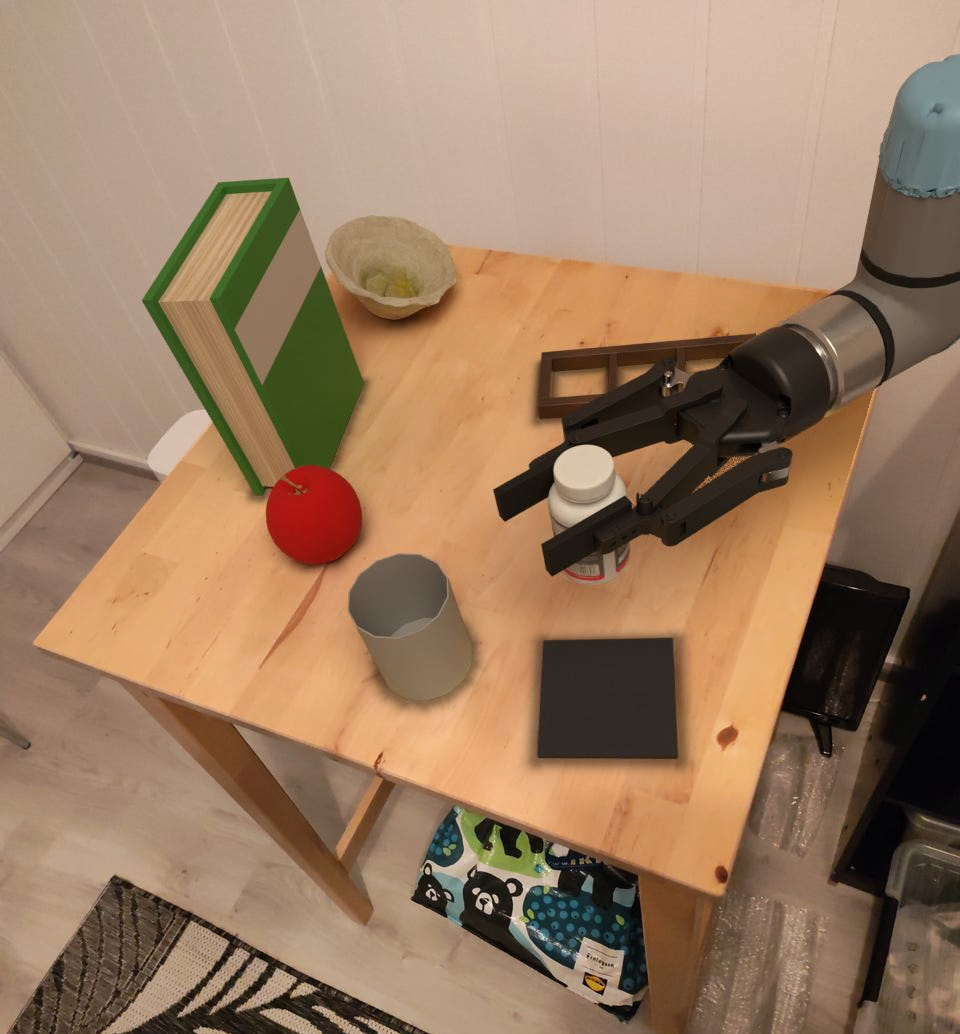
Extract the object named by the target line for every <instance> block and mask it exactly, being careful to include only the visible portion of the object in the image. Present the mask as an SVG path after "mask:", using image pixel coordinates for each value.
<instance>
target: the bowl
mask: <svg viewBox="0 0 960 1034" xmlns="http://www.w3.org/2000/svg"><path fill="white" fill-rule="evenodd" d="M324 257H325V261H326V264H327V266H328V268H329V269H330V271H331V272H332V273H333V276H334V278H335V279H336V281H337V282H338V284H340V285H341V286H342V287H343V288H344V289H345V290H346V291H347V292H349V293H350V294H352V296H353V297H354V298H356V299H357V300H358V301H359V302H360V303H361V304H362V305H363V306H364V307H365V308H366V309H367V310H368V311H369V312H371V313H372V314H373V315H375V316H377V317H379V318H382V319H388V320H396V321H397V320H401V319H405V318H407V317H410V316H412V315H414V314H415V313H417V312H419V311H420V310H422V309H424V308H426V307H427V308H428V307H430V306H433V305H437V304H439V302H440V300H441V299H442V297H443V296H444V295H445V293H446V292H447V291H448V290H449V289H450V288H452V287H454V286H455V285H456V283H457V281H458V279H457V273H456V266H455V262H454V260H453V257H452V253H451V250H450V248H449V246H448V244H446V243H445V242H444V241H443V240H442V239H441V238H440V237H439V236H438V235H437V234H436V233H435V232H434V231H432V230H430V229H429V228H426V227H424V226H422V225H420V224H418V223H417V222H415V221H412V220H409V219H408V218H403V217H400V216H390V215H389V216H384V215H373V214H372V215H368V216H362V217H357V218H354V219H352V220H350V221H347V222H346V223H343V224H342V225H341V226H339V227H337V228H336V229H335V230H334V231H333V232H332V233H331V235H330V236H329V239H328V242H327V244H326V247H325V250H324Z"/></svg>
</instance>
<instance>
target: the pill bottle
mask: <svg viewBox="0 0 960 1034" xmlns="http://www.w3.org/2000/svg"><path fill="white" fill-rule="evenodd" d="M613 458H614V457H613ZM613 458H612V456H611V455H610V454H609V453H608V452H607V451H606V450H605V449H603V448H601V447H598V446H594V445H580V446H576V447H573V448H570V449H568V450H566V451H565V452H563V453H562V454H561V455H560V456H559V457H558V459H557V460H556V462H555V464H554V470H553V471H554V480H555V482H554V483H553V485H552V487H551V489H550V491H549V495H548V498H547V504H548V505H547V506H548V511H549V516H550V518H549V519H550V522H551V523H550V524H551V529H552V534H553V535H552V536H553V537H554V536H556V535H558V534H560V533H561V532H563V531H565V530H566V529H568V528H570V527H572V526H573V525H575V524H577V523H578V522H580V521H582V520H584V519H585V518H587V517H589V516H590V515H592V514H594V513H596V512H597V511H599V510H601V509H602V508H604V507H606V506H608V505H609V504H611V503H613V502H615V501H616V500H618V499H620V498H621V497H623V496H626V497H627V498H628V492H627V487H626V484H625V483H624V481H623V479H622V478H621V477H620V475H619V474H618V473H617V472H616V468H615V467H616V466H615V461H614V459H613ZM630 544H631V541H630V542H628V543H626V544H625V545H622V546H621V547H620V548H617V549H616V550H615V551H613V552H611V553H609V554H604V555H602V554H601V553H600V552H599V551H598V550H597V551H595V552H594V553H592V554H590V555H588V556H587V557H585V558H583V559H582V560H580V561H578V562H577V563H575V564H573V565H572V566H570V567H568V568H566V569H565V570H563V571H561V573H562V574H563V575H564V576H566V577H567V578H568V579H569V580H571V581H572V582H574V583H577V584H580V585H583V586H584V585H585V586H600V585H604V584H606V583H609V582H611V581H613V580H615V579H616V578H618V577H619V576H620V575H622V573H624V571H625V570H626V568H627V566H628V564H629V561H630V555H631V547H630V546H631V545H630Z"/></svg>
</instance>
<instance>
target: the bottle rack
mask: <svg viewBox="0 0 960 1034" xmlns="http://www.w3.org/2000/svg"><path fill="white" fill-rule="evenodd" d="M757 335H758V334H757V333H743V334H734V335H733V334H732V335H722V336H721V335H720V336H711V337H700V338H688V339H677V340H666V341H653V342H643V343H641V342H640V343H631V344H620V345H610V346H609V345H608V346H607V345H606V346H598V347H596V346H595V347H586V348H574V349H564V350H553V351H551V350H550V351H541V354H540V369H539V382H538V383H539V384H538V397H537V410H538V417H539V419H540V420H544V419H557V418H558V419H559V418H563V416H564V415H566V414H568V413H570V412H571V411H573V410H575V409H577V408H579V407H581V406H583V405H585V404H587V403H589V402H591V401H592V400H594V399H596V398H598V397H600V396H602V395H604V394H605V393H595V394H582V395H580V394H579V395H570V396H556V397H554V396H553V387H554V386H553V385H554V373H555V372H563V371H575V370H587V369H597V368H609V372H608V373H609V374H608V377H609V381H608V382H609V383H608V392H610V391H612V390H613V389H615V388H617V387H619V376H618V373H619V372H618V371H619V370H618V368H619V367H622V366H634V365H647V364H655V363H656V362H657V361H658V360H659V359H660V358H662V357H664V356H671V357H673V358H674V359H675V368H676V369H679V370H681V371H684V372H686V373H687V369H686V361H694V360H707V359H717V358H718V359H719V358H725V357H726V356H727V355H728V354H729V353H730V352H731V351H732V350H733V349H734V348H736V347H737V346H739V345H741V344H743V343H744V342H746V341H748V340H750V339H752V338H753V337H755V336H757Z"/></svg>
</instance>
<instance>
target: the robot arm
mask: <svg viewBox="0 0 960 1034" xmlns="http://www.w3.org/2000/svg"><path fill="white" fill-rule="evenodd" d="M875 173H876V174H875V179H874V182H873V183H874V184H873V189H872V194H871V199H870V203H869V209H868V213H867V218H866V224H865V228H864V233H863V239H862V243H861V249H860V253H859V258H858V261H857V267H856V273H855V276H854V277H853V279H852V280H851V281H850V282H849V283H847V284H845V285H844V286H842V287H840V288H838V289H837V290H835V291H833V292H831V293H829V294H828V295H826V296H825V297H823V298H821V299H819V301H818V300H817V302H814V303H812V304H811V305H809V306H807V307H805V308H804V309H801V310H800V311H798V312H796V313H794V314H792V315H791V316H788V317H787V318H785V319H783V320H781V321H780V322H778V323H777V324H776V325H775V326H773V327H770V328H768V329H765V330H764V331H762V332H760V333H759V334H756V335H757V336H755V337H753V338H752V339H750V340H748V341H746V342H744V343H743V344H741V345H739V346H737V347H736V348H734V349H733V350H732V351H731V352H730V353H729V354H728V355H727V356H726V357H724V359H723V360H722V361H721V362H720V363H718V364H717V365H716V366H715V367H712V368H708V369H702V370H698V371H696V372H693V373H692V374H691V373H688V372H687V371H686V372H684V371H681V370H679V369H676V361H675V359H674V358H673V357H671V356H664V357H662V358H660V359H659V360H658V361H657V362H656V363H653V365H652V366H651V367H650V368H649V369H648V370H647V371H646V372H644V373H642V374H640V375H638V376H637V377H635V378H633V379H631V380H629V381H627V382H625V383H623V384H621V385H620V386H619V385H618V387H617V388H615V389H613V390H612V391H610V392H609V391H608V392H606V393H603V394H604V395H602V396H600V397H598V398H596V399H594V400H592V401H591V402H589V403H587V404H585V405H583V406H581V407H579V408H577V409H575V410H573V411H571V412H570V413H568V414H566V415H564V416H563V417H561V425H562V435H563V442H561V443H560V444H558V445H557V446H555V447H553V448H552V449H550V450H548V451H546V452H545V453H542V454H541V455H539V456H537V457H535V458H534V459H532V460H531V462H529V464H528V469H527V470H525V471H522V472H521V473H519V474H518V475H516V476H514V477H513V478H511V479H509V480H507V481H505V482H504V483H502V484H500V485H498V486H497V487H495V488H493V489H492V491H493V495H494V499H495V503H496V508H497V512H498V516H499V517H500V519H501V520H502V521H503V522H504V523H506V522H508V521H509V520H511V519H513V518H515V517H516V516H519V515H520V514H521V513H523V512H525V511H527V510H529V509H530V508H532V507H534V506H536V505H538V503H541V502H542V501H545V500H547V499H548V495H549V491H550V489H551V487H552V485H553V483H554V482H555V480H554V471H553V470H554V464H555V462H556V460H557V459H558V457H559V456H560V455H561V454H562V453H563V452H565V451H566V450H568V449H570V448H573V447H576V446H580V445H594V446H598V447H601V448H603V449H605V450H606V451H607V452H608V453H609V454H610V455H611V456H612V458H615V457H616V458H617V457H619V456H622V455H625V454H629V453H632V452H634V451H638V450H640V449H644V448H647V447H649V446H653V445H656V444H659V443H662V442H663V443H665V444H667V445H672V444H676V443H678V442H681V441H686V442H687V443H689V444H692V446H691V447H690V448H689V449H688V450H687V451H686V452H685V453H684V454H683V455H682V456H681V457H679V459H678V460H677V461H676V462H675V463H674V464H673V465H672V466H671V467H670V468H669V469H668V470H667V471H666V472H665V473H663V474H662V475H661V477H660V478H659V479H658V480H656V482H654V484H652V485H651V486H650V487H649V488H648V490H646V491H645V493H640V492H639V491H637V493H636V494H635V506H634V507H633V502H632V501H631V499H629V498H628V496H627V497H626V496H623V497H621V498H620V499H618V500H616V501H615V502H613V503H611V504H609V505H608V506H606V507H604V508H602V509H601V510H599V511H597V512H596V513H594V514H592V515H590V516H589V517H587V518H585V519H584V520H582V521H580V522H578V523H577V524H575V525H573V526H572V527H570V528H568V529H566V530H565V531H563V532H561V533H560V534H558V535H556V536H554V535H553V536H552V537H551V538H549V539H547V540H545V541H544V542H542V543H541V544H540V545H541V551H542V556H543V557H542V558H543V562H544V569H545V571H546V572H547V573H548V575H549V576H550V577H551V578H553V577H554V576H556V575H558V574H560V573H562V571H563V570H565V569H566V568H568V567H570V566H572V565H573V564H575V563H577V562H578V561H580V560H582V559H583V558H585V557H587V556H588V555H590V554H592V553H594V552H595V551H597V550H598V551H599V552H600V553H601V554H602V555H604V554H609V553H611V552H613V551H615V550H616V549H617V548H620V547H621V546H622V545H625V544H626V543H628V542H630V543H631V542H632V541H633V540H635V539H637V538H638V537H640V536H643V535H644V536H648V535H651V536H654V537H656V538H659V539H661V543H662V545H664V546H665V547H670V548H671V547H672V548H673V547H676V546H677V545H679V544H681V543H682V542H684V541H685V540H687V539H689V538H690V537H692V536H693V535H695V534H696V533H698V532H699V531H701V530H702V529H704V528H705V527H708V526H709V525H710V524H712V523H713V522H715V521H717V520H718V519H720V518H721V517H723V516H724V515H725V514H727V513H729V512H730V511H732V510H734V509H736V508H737V507H738V506H740V505H741V504H743V503H745V502H746V501H748V500H749V499H751V498H752V497H754V496H756V495H757V494H759V493H763V492H765V491H770V490H773V489H777V488H780V487H783V486H785V485H786V484H787V483H788V482H789V477H790V471H791V466H792V460H793V455H794V454H793V450H792V449H790V448H788V447H781V446H780V445H782V444H784V443H787V442H788V441H790V440H791V439H793V438H795V437H797V436H799V435H800V434H802V433H804V432H806V431H807V430H808V429H811V428H813V426H815V425H817V424H819V423H820V422H821V421H822V420H823V419H824V418H827V417H829V416H832V415H833V414H835V413H836V412H838V411H840V410H842V409H843V408H845V407H847V406H849V405H850V404H852V403H853V402H855V401H857V400H859V399H861V398H862V397H864V396H865V395H867V394H869V393H870V392H872V391H873V390H875V389H877V388H879V387H881V386H882V385H883V384H884V383H886V382H888V381H889V380H891V379H892V378H894V377H897V376H898V375H900V374H901V373H903V372H905V371H907V370H909V369H910V368H912V367H914V366H916V365H918V364H920V363H922V362H923V361H925V360H927V359H929V358H930V357H932V356H936V355H938V354H941V353H943V352H944V351H946V350H948V349H950V347H952V346H954V345H955V344H957V342H958V341H959V340H960V53H956V54H950V55H948V56H946V57H945V58H944V59H943V60H942V61H931V62H928V63H926V64H923V65H922V66H921V67H918V68H917V69H916V70H915V71H914V72H912V73H911V74H910V75H909V76H908V77H907V78H906V79H905V81H903V83H902V85H901V86H900V87H899V89H898V92H897V93H896V95H895V99H894V103H893V106H892V110H891V113H890V117H889V120H888V124H887V127H886V129H885V131H884V133H883V137H882V142H880V145H879V154H878V164H877V169H876V172H875ZM744 457H745V458H746V459H744V460H742V461H740V462H739V463H737V464H735V465H734V466H733V467H731V468H729V469H728V470H726V471H725V472H723V473H721V474H720V475H718V476H717V477H714V476H715V475H716V474H717V473H719V471H720V470H721V469H723V467H724V466H725V465H726V464H727V463H728V462H729V461H730V460H731V459H732V458H744ZM708 477H710V478H713V477H714V478H713V479H711V480H710V481H709V482H707V483H705V484H704V485H702V486H701V484H703V483H704V481H706V480H707V478H708ZM700 486H701V487H700Z"/></svg>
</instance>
